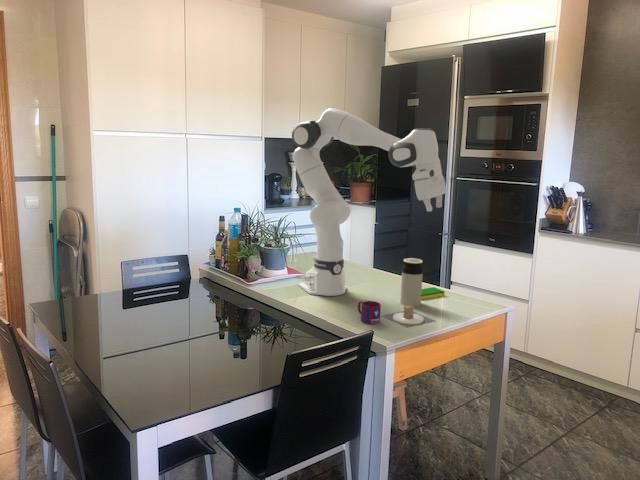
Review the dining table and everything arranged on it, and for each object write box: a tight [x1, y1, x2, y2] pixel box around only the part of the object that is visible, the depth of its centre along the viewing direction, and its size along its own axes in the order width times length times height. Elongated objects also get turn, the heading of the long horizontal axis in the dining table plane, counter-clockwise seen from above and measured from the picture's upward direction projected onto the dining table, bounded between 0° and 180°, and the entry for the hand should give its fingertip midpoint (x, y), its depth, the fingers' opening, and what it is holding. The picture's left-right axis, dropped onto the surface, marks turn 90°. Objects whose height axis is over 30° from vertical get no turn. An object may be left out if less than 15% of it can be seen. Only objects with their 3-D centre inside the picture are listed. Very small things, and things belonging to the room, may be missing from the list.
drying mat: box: [381, 310, 436, 329], centre depth 189 cm, size 14×14×1 cm
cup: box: [357, 300, 381, 325], centre depth 185 cm, size 7×10×7 cm
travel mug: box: [399, 257, 424, 308], centre depth 205 cm, size 8×8×18 cm
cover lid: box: [393, 305, 424, 326], centre depth 187 cm, size 11×11×5 cm
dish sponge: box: [421, 286, 446, 301], centre depth 219 cm, size 7×14×2 cm, turn 120°
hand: (434, 209), depth 191 cm, fingers open, 8 cm apart
